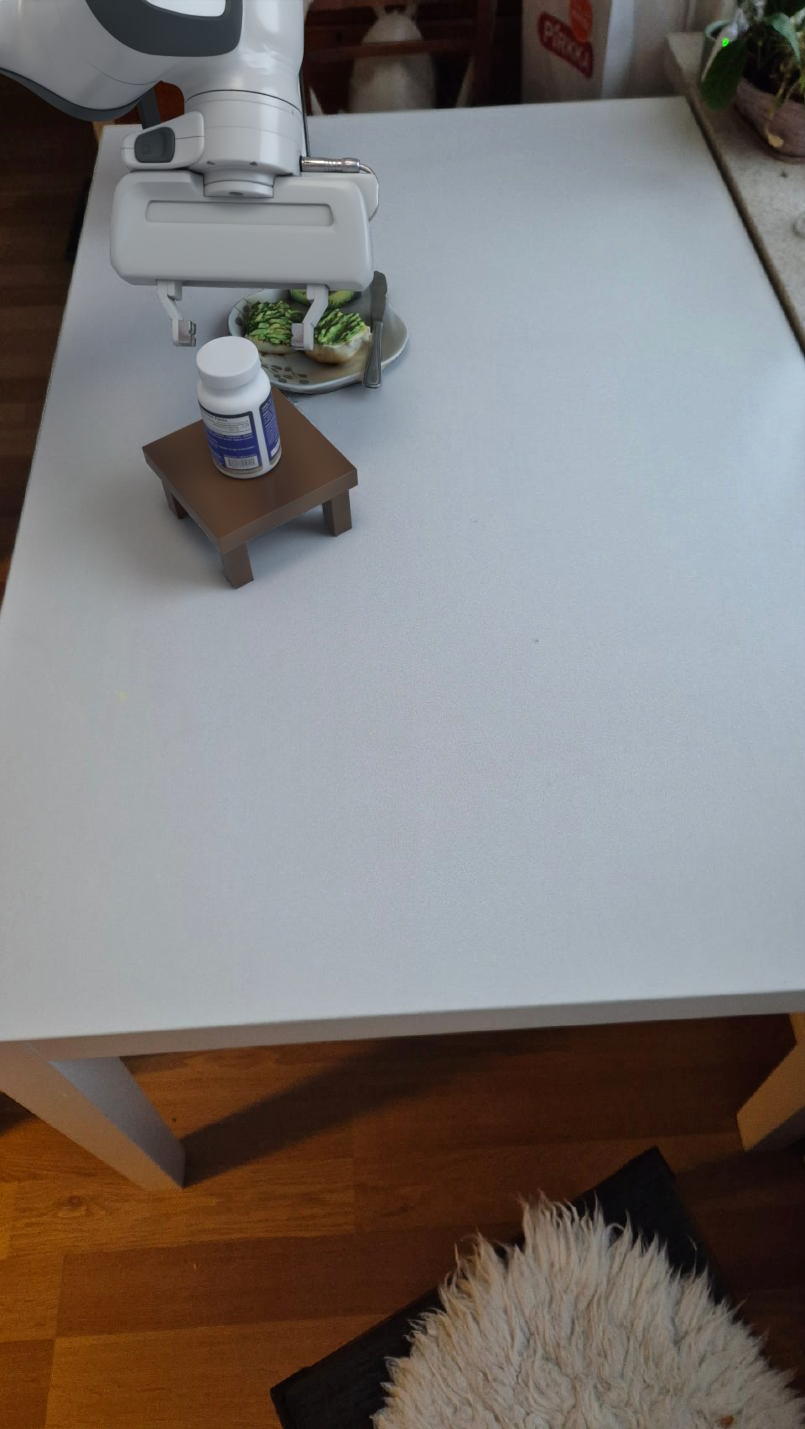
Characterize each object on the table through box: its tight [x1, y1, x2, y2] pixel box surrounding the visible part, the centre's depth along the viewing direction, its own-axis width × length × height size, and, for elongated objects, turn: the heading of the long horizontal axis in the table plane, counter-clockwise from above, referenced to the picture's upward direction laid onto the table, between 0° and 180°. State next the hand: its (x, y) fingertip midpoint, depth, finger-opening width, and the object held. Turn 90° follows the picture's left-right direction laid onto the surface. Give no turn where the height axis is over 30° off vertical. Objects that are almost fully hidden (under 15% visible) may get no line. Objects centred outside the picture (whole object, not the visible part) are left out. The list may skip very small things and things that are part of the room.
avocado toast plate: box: [226, 270, 409, 395], centre depth 100 cm, size 19×18×5 cm
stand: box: [141, 385, 359, 590], centre depth 86 cm, size 13×13×7 cm
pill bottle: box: [195, 335, 281, 479], centre depth 79 cm, size 6×6×10 cm
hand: (243, 347), depth 80 cm, fingers open, 8 cm apart
